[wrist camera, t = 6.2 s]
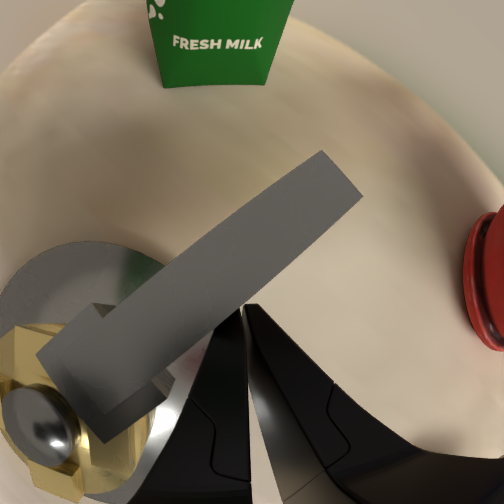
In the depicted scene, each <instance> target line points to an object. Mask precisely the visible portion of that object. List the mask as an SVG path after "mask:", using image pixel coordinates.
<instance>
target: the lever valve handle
mask: <svg viewBox="0 0 504 504" xmlns="http://www.w3.org/2000/svg"><path fill="white" fill-rule="evenodd" d="M362 197H363V196H362V194H361V193H360V192H359V191H358V190H357V188H356V187H355V186H354V185H353V184H352V183H351V181H350V180H349V179H348V178H347V177H346V176H345V175H344V173H343V172H342V171H341V170H340V169H339V168H338V167H337V166H336V165H335V163H334V162H333V161H332V160H331V159H330V158H329V157H328V156H327V155H326V154H325V153H324V152H323V150H321V151H319V152H318V153H316V154H315V155H314V156H312V157H311V158H309V159H308V160H306V161H305V162H304V163H302V164H301V165H299V166H298V167H296V168H295V169H294V170H292V171H291V172H289V173H288V174H287V175H285V176H284V177H282V178H281V179H280V180H278V181H277V182H275V183H274V184H273V185H271V186H270V187H268V188H267V189H266V190H264V191H263V192H262V193H260V194H259V195H258V196H256V197H255V198H253V199H252V200H251V201H249V202H248V203H247V204H245V205H244V206H243V207H241V208H240V209H239V210H237V211H236V212H235V213H233V214H232V215H231V216H229V217H228V218H227V219H225V220H224V221H223V222H221V223H220V224H219V225H217V226H216V227H215V228H214V229H212V230H211V231H210V232H208V233H207V234H206V235H204V236H203V237H202V238H201V239H199V240H198V241H197V242H195V243H194V244H193V245H192V246H190V247H189V248H188V249H186V250H185V251H184V252H183V253H181V254H180V255H179V256H178V257H176V258H175V259H174V260H173V261H171V262H170V263H169V264H168V265H166V266H165V267H164V268H163V269H161V270H160V271H159V272H158V273H156V274H155V275H154V276H153V277H152V278H150V279H149V280H148V281H147V282H145V283H144V284H143V285H142V286H141V287H139V288H138V289H137V290H136V291H134V292H133V293H132V294H131V295H130V296H128V297H127V298H126V299H125V300H124V301H123V302H121V303H120V304H119V305H118V306H116V305H108V304H100V303H92V302H91V303H90V304H89V305H88V306H87V307H86V308H84V309H83V310H82V311H81V312H80V313H79V314H78V315H77V316H76V317H74V318H73V319H72V320H71V321H70V322H69V323H53V324H26V325H21V326H15V328H14V329H12V330H11V331H9V332H7V333H6V334H5V335H4V336H3V337H2V338H1V339H0V430H1V432H2V434H3V436H4V437H5V439H6V441H7V442H8V444H9V445H10V446H11V448H12V449H13V450H14V452H15V453H16V454H17V455H18V456H19V457H20V459H21V460H22V461H23V462H24V463H25V464H26V465H27V466H29V469H30V473H31V477H32V480H33V484H34V486H36V487H38V488H40V489H42V490H44V491H47V492H49V493H51V494H54V495H56V496H59V497H61V498H64V499H67V500H69V501H72V502H75V503H79V501H80V500H81V498H82V497H83V495H84V494H85V493H86V494H98V493H104V492H108V491H111V490H114V489H116V488H118V487H120V486H121V485H122V484H124V483H125V482H126V481H127V480H128V479H129V478H130V477H131V475H132V474H133V472H134V471H135V469H136V466H137V464H138V461H139V459H140V457H141V454H142V452H143V450H144V447H145V445H146V443H147V440H148V438H149V436H150V433H151V431H152V428H153V426H154V423H155V418H156V409H157V408H156V407H157V406H158V405H160V404H161V403H162V402H164V401H165V400H166V399H167V398H168V396H169V394H170V391H171V389H172V387H173V384H174V382H175V378H174V377H173V375H172V374H171V373H170V372H169V371H168V370H167V369H166V367H168V366H169V365H170V364H171V363H173V362H174V361H175V360H176V359H178V358H179V357H180V356H181V355H183V354H184V353H185V352H186V351H187V350H189V349H190V348H191V347H192V346H194V345H195V344H196V343H197V342H198V341H200V340H201V339H202V338H203V337H205V336H206V335H207V334H208V333H209V332H211V331H212V330H213V329H214V328H215V327H217V326H218V325H219V324H220V323H221V322H223V321H224V320H225V319H226V318H227V317H229V316H230V315H231V314H232V313H233V312H234V311H236V310H237V309H238V308H239V307H240V306H241V305H243V304H244V303H245V302H246V301H247V300H249V299H250V298H251V297H252V296H253V295H254V294H256V293H257V292H258V291H259V290H260V289H261V288H262V287H264V286H265V285H266V284H267V283H268V282H269V281H271V280H272V279H273V278H274V277H275V276H276V275H277V274H279V273H280V272H281V271H282V270H283V269H284V268H285V267H286V266H288V265H289V264H290V263H291V262H292V261H293V260H294V259H296V258H297V257H298V256H299V255H300V254H301V253H302V252H303V251H304V250H306V249H307V248H308V247H309V246H310V245H311V244H312V243H313V242H315V241H316V240H317V239H318V238H319V237H320V236H321V235H322V234H323V233H324V232H326V231H327V230H328V229H329V228H330V227H331V226H332V225H333V224H334V223H335V222H336V221H338V220H339V219H340V218H341V217H342V216H343V215H344V214H345V213H346V212H347V211H348V210H349V209H351V208H352V207H353V206H354V205H355V204H356V203H357V202H358V201H359V200H360V199H361V198H362ZM33 383H40V384H45V385H47V386H50V387H51V388H53V389H55V390H56V391H58V392H59V393H60V394H61V395H62V396H63V397H64V398H65V399H66V400H67V402H68V403H69V404H70V406H71V407H72V408H73V410H74V411H75V413H76V415H77V417H78V420H79V423H80V427H81V441H80V444H79V446H78V447H77V448H76V450H75V451H74V452H73V453H72V454H71V455H70V456H69V457H68V458H67V459H66V460H65V461H64V462H63V463H62V464H61V465H58V466H55V467H48V466H43V465H40V464H38V463H36V462H34V461H32V460H31V459H29V458H28V457H27V456H25V455H24V454H23V453H22V452H21V451H20V450H19V449H18V448H17V446H16V445H15V444H14V442H13V441H12V439H11V438H10V436H9V434H8V432H7V430H6V428H5V425H4V422H3V417H2V403H3V400H4V398H5V396H6V395H7V394H8V393H9V392H11V391H13V390H16V389H18V388H21V387H24V386H27V385H30V384H33Z"/></svg>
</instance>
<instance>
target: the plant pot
mask: <svg viewBox="0 0 504 504" xmlns="http://www.w3.org/2000/svg"><path fill="white" fill-rule="evenodd" d="M463 285H464V295H465V301H466V306H467V310H468V314H469V317H470V320H471V322H472V325H473V327H474V329H475V331H476V333H477V335H478V336H479V338H480V339H481V341H482V342H483V343H484V344H485V345H486V346H487V347H489V348H490V349H492V350H495V351H504V205H503V206H502V207H501V208H500V210H499V211H498V213H497V212H489V213H486V214H484V215H482V216H481V217H480V218H479V219H478V220H477V221H476V223H475V224H474V226H473V228H472V230H471V232H470V234H469V237H468V240H467V244H466V249H465V254H464V262H463Z"/></svg>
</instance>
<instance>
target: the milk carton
mask: <svg viewBox="0 0 504 504" xmlns="http://www.w3.org/2000/svg"><path fill="white" fill-rule="evenodd" d="M293 1H294V0H147V10H148V18H149V24H150V29H151V33H152V38H153V42H154V46H155V51H156V56H157V60H158V64H159V69H160V73H161V77H162V82H163V86H164V88H173V87H185V86H200V85H265V83H266V80H267V76H268V73H269V70H270V67H271V64H272V61H273V59H274V56H275V53H276V50H277V47H278V44H279V41H280V38H281V36H282V33H283V30H284V27H285V24H286V21H287V18H288V16H289V13H290V10H291V7H292V5H293Z"/></svg>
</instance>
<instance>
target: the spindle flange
mask: <svg viewBox="0 0 504 504" xmlns="http://www.w3.org/2000/svg"><path fill="white" fill-rule="evenodd" d="M164 267H165V266H164V265H162V264H161V263H159V262H158V261H156V260H154V259H152V258H150V257H148V256H146V255H144V254H142V253H140V252H138V251H135V250H132V249H129V248H127V247H124V246H120V245H115V244H110V243H105V242H90V241H86V242H76V243H69V244H65V245H61V246H57V247H55V248H52V249H50V250H48V251H45V252H43V253H41V254H40V255H38V256H36V257H35V258H33V259H32V260H30V261H29V262H28V263H27V264H25V265H24V266H23V267H22V268H21V269H20V270H19V271H18V272H17V273H16V274H15V275H14V276H13V278H12V279H11V280H10V281H9V283H8V284H7V286H6V287H5V289H4V291H3V292H2V294H1V296H0V339H1V338H2V337H3V336H4V335H5V334H6V333H7V332H9V331H11V330H12V329H14V328H15V326H21V325H26V324H53V323H69V322H70V321H71V320H72V319H73V318H74V317H76V316H77V315H78V314H79V313H80V312H81V311H82V310H83V309H84V308H86V307H87V306H88V305H89V304H90V303H91V302H92V303H100V304H108V305H116V306H118V305H119V304H120V303H121V302H123V301H124V300H125V299H126V298H127V297H128V296H130V295H131V294H132V293H133V292H134V291H136V290H137V289H138V288H139V287H141V286H142V285H143V284H144V283H145V282H147V281H148V280H149V279H150V278H152V277H153V276H154V275H155V274H156V273H158V272H159V271H160V270H161V269H163V268H164ZM214 329H215V328H214ZM214 329H213V330H212V331H211V332H209V333H208V334H207V335H206V336H205V337H203V338H202V339H201V340H200V341H198V342H197V343H196V344H195V345H194V346H192V347H191V348H190V349H189V350H187V351H186V352H185V353H184V354H183V355H181V356H180V357H179V358H178V359H176V360H175V361H174V362H173V363H171V364H170V365H169V366H168V367H166V369H167V370H168V371H169V372H170V373H171V374H172V375H173V377H174V378H175V382H174V384H173V387H172V389H171V391H170V394H169V396H168V398H167V399H166V400H165V401H164V402H162V403H161V404H160V405H158V406H157V407H156V408H157V409H156V418H155V423H154V426H153V428H152V431H151V433H150V436H149V438H148V440H147V443H146V445H145V447H144V450H143V452H142V454H141V457H140V459H139V461H138V464H137V466H136V469H135V471H134V472H133V474H132V475H131V477H130V478H129V479H128V480H127V481H126V482H125V483H124V484H122V485H121V486H120V487H118V488H116V489H114V490H111V491H108V492H104V493H98V494H86V493H85V494H84V496H86V497H89V498H91V499H94V500H97V501H100V502H104V503H108V504H127V503H128V501H129V500H130V499H131V498H132V497H133V495H134V494H135V493H136V491H137V490H138V489H139V487H140V485H141V484H142V482H143V481H144V479H145V477H146V476H147V474H148V473H149V471H150V469H151V468H152V466H153V464H154V463H155V461H156V459H157V457H158V456H159V454H160V452H161V451H162V449H163V447H164V446H165V444H166V442H167V440H168V438H169V436H170V435H171V433H172V431H173V429H174V427H175V425H176V423H177V420H178V418H179V416H180V413H181V411H182V409H183V406H184V404H185V401H186V399H187V398H188V394H189V392H190V389H191V386H192V384H193V381H194V379H195V376H196V374H197V371H198V369H199V366H200V364H201V361H202V359H203V356H204V354H205V351H206V349H207V346H208V344H209V341H210V339H211V336H212V334H213V331H214ZM2 417H3V422H4V425H5V428H6V430H7V432H8V434H9V436H10V438H11V439H12V441H13V442H14V444H15V445H16V446H17V448H18V449H19V450H20V451H21V452H22V453H23V454H24V455H25V456H27V457H28V458H29V459H31V460H32V461H34V462H36V463H38V464H40V465H43V466H48V467H55V466H58V465H61V464H62V463H63V462H64V461H65V460H66V459H67V458H68V457H69V456H70V455H71V454H72V453H73V452H74V451H75V450H76V448H77V447H78V446H79V444H80V441H81V427H80V423H79V420H78V417H77V415H76V413H75V411H74V410H73V408H72V407H71V406H70V404H69V403H68V402H67V400H66V399H65V398H64V397H63V396H62V395H61V394H60V393H59V392H58V391H56V390H55V389H53V388H51V387H50V386H47V385H45V384H40V383H33V384H30V385H27V386H24V387H21V388H18V389H16V390H13V391H11V392H9V393H8V394H7V395H6V396H5V398H4V400H3V403H2Z"/></svg>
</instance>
